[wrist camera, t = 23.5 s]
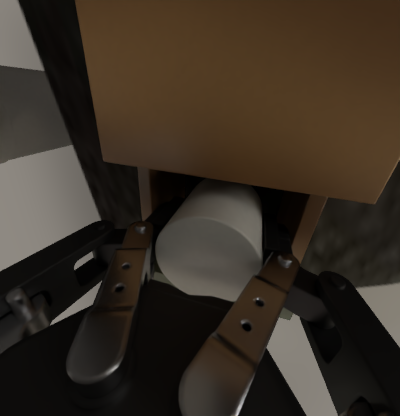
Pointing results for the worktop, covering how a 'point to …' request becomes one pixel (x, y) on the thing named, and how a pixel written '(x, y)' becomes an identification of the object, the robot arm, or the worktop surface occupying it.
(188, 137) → the cabinet
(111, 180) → the worktop surface
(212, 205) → the grey cylinder
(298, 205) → the drawer
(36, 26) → the worktop surface
